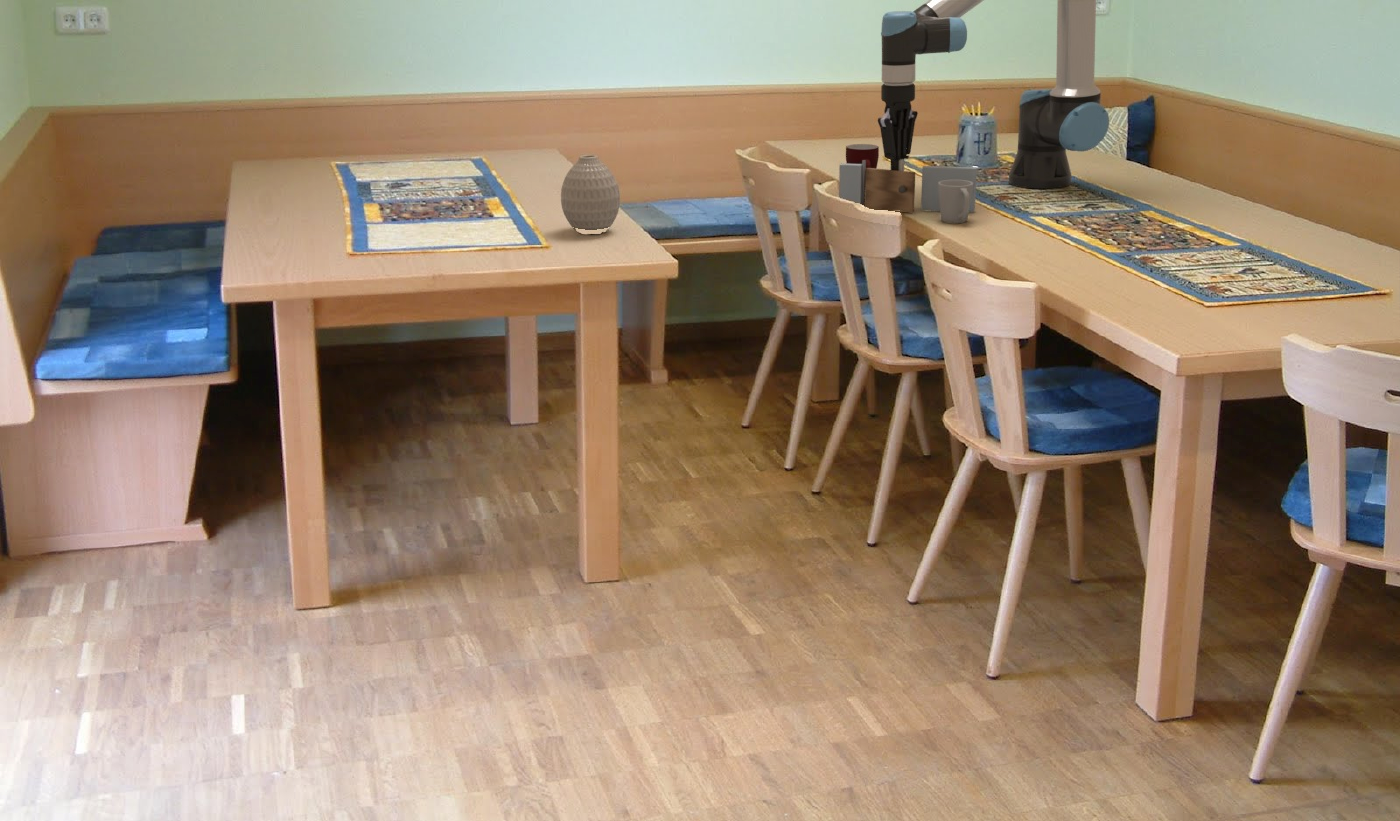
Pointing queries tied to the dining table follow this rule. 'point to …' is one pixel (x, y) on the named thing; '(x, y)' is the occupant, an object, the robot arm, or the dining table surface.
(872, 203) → the door
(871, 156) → the mug
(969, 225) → the dining table surface
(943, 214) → the cup
